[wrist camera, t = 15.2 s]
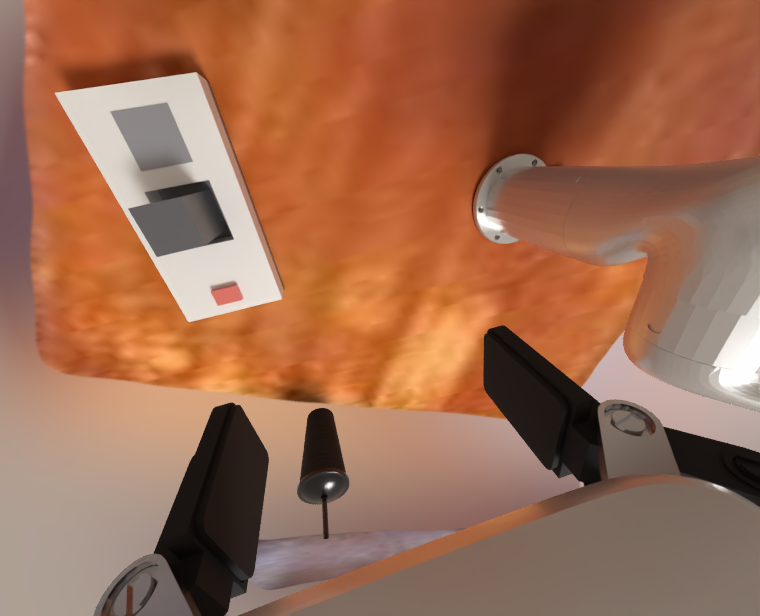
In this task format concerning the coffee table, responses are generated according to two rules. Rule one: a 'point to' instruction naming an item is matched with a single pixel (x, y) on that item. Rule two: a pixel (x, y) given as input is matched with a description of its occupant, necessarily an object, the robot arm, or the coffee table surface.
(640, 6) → the coffee table surface
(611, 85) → the coffee table surface
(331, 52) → the coffee table surface
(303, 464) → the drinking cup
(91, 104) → the power strip
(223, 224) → the plug
